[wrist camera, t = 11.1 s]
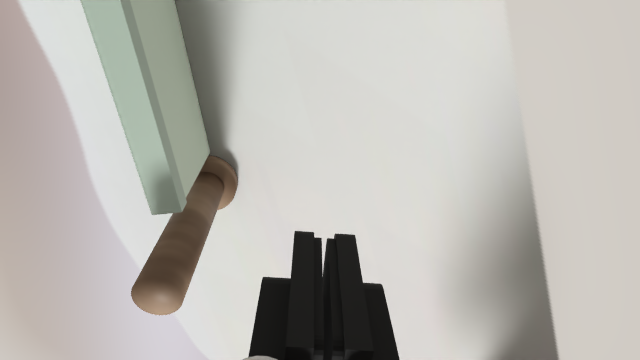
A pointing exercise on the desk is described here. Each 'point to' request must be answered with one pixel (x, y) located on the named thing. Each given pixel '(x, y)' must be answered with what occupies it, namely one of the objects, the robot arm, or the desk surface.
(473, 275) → the desk surface
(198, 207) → the brown turned wooden spindle
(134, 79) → the panel
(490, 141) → the desk surface
